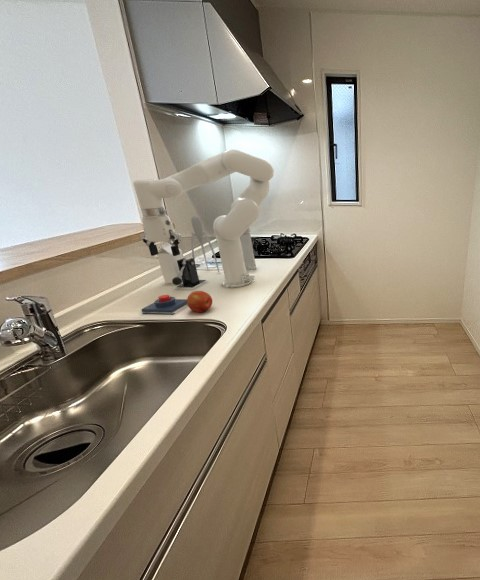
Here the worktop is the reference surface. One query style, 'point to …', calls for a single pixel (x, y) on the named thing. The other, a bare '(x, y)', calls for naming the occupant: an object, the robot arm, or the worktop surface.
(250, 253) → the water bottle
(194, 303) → the apple
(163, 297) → the button
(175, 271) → the milk carton
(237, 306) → the worktop surface
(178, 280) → the lever
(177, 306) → the button box
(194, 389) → the worktop surface
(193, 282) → the bracket
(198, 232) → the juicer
